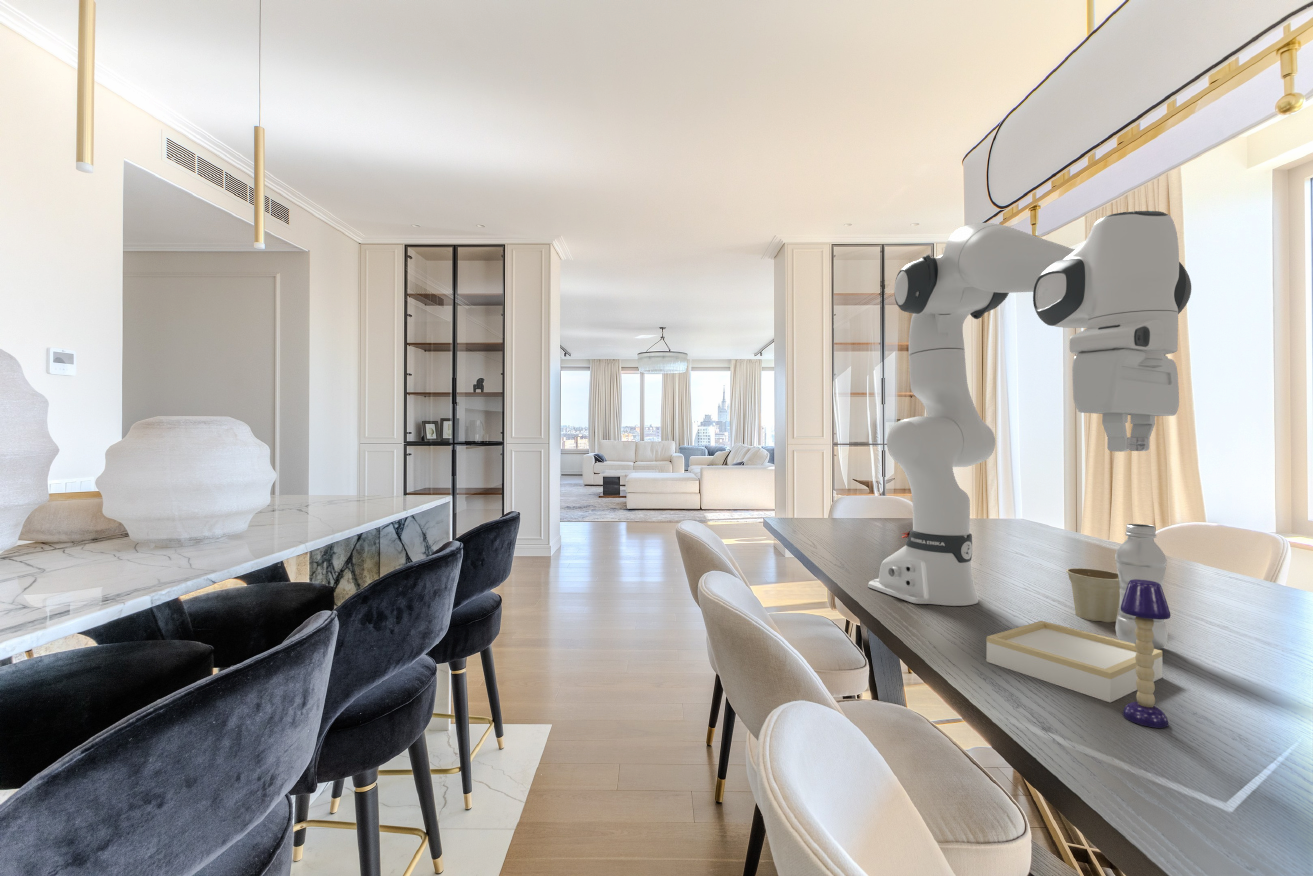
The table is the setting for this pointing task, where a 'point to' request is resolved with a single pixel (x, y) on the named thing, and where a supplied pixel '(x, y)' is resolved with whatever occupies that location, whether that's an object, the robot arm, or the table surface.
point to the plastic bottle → (1139, 577)
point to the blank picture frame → (1070, 658)
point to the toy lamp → (1145, 648)
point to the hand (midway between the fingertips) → (1128, 451)
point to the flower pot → (1095, 593)
